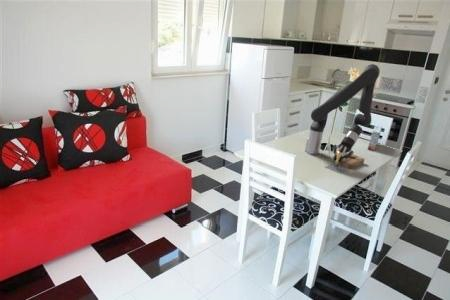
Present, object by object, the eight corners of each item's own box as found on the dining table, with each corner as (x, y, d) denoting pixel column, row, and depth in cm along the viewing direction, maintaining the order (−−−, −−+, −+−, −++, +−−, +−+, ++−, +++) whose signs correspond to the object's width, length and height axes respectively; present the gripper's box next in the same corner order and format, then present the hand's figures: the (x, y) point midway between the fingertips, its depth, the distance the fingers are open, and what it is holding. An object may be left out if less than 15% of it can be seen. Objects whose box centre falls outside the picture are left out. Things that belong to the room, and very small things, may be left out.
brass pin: (333, 165, 206) (336, 151, 202) (335, 164, 208) (339, 150, 204) (337, 167, 204) (340, 153, 200) (339, 166, 206) (343, 152, 202)
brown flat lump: (334, 163, 215) (335, 158, 214) (347, 157, 227) (348, 153, 226) (350, 169, 207) (352, 164, 206) (363, 163, 219) (364, 158, 218)
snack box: (374, 151, 244) (379, 132, 238) (367, 149, 246) (371, 131, 240) (377, 143, 261) (382, 126, 255) (370, 142, 263) (374, 124, 258)
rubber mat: (324, 167, 207) (324, 167, 207) (332, 164, 214) (332, 163, 213) (340, 174, 199) (341, 173, 199) (348, 170, 205) (348, 170, 205)
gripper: (338, 133, 208) (325, 154, 205) (359, 139, 199) (345, 162, 195) (341, 139, 213) (327, 159, 210) (361, 146, 204) (347, 167, 201)
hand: (336, 160), depth 203 cm, fingers closed on brass pin, 3 cm apart
